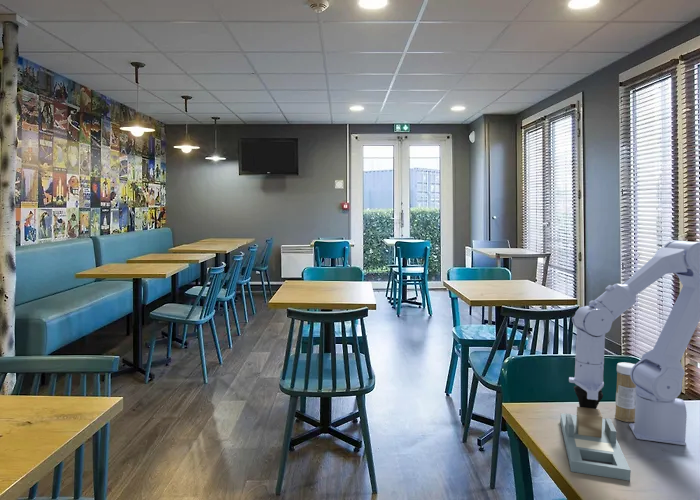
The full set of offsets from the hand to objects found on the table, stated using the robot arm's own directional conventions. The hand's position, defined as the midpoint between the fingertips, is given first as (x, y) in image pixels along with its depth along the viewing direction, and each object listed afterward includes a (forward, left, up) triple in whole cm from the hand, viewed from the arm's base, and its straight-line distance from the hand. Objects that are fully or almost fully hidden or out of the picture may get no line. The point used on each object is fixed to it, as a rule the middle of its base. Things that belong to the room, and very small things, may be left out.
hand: (586, 420), depth 112 cm
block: (0, +4, -1) cm, 4 cm away
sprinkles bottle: (-10, -13, -3) cm, 16 cm away
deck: (0, +7, -3) cm, 8 cm away
